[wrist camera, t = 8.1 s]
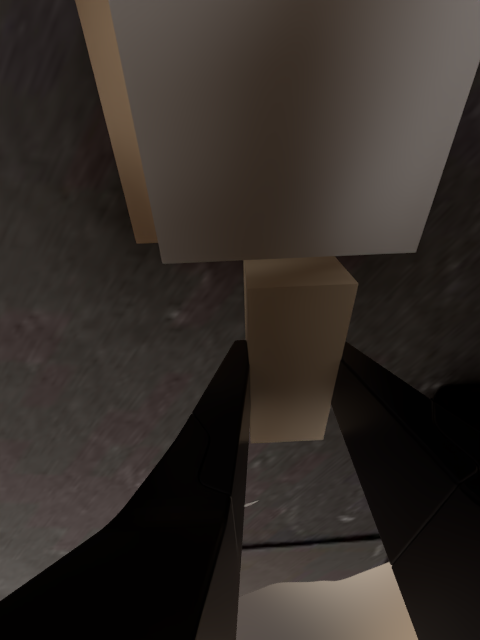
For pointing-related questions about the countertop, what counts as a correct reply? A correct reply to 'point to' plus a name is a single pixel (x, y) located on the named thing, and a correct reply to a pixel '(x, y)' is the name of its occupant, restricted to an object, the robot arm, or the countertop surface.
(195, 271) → the countertop surface
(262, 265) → the turner
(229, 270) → the countertop surface
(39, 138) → the countertop surface
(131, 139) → the oak board
